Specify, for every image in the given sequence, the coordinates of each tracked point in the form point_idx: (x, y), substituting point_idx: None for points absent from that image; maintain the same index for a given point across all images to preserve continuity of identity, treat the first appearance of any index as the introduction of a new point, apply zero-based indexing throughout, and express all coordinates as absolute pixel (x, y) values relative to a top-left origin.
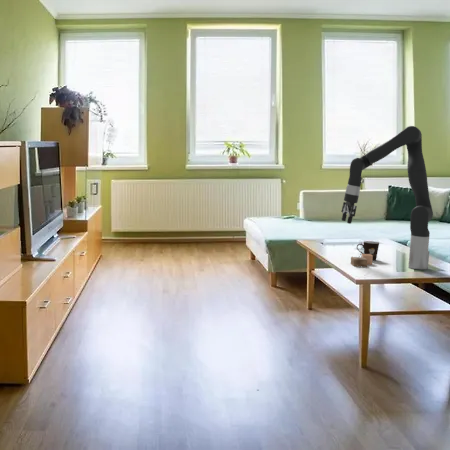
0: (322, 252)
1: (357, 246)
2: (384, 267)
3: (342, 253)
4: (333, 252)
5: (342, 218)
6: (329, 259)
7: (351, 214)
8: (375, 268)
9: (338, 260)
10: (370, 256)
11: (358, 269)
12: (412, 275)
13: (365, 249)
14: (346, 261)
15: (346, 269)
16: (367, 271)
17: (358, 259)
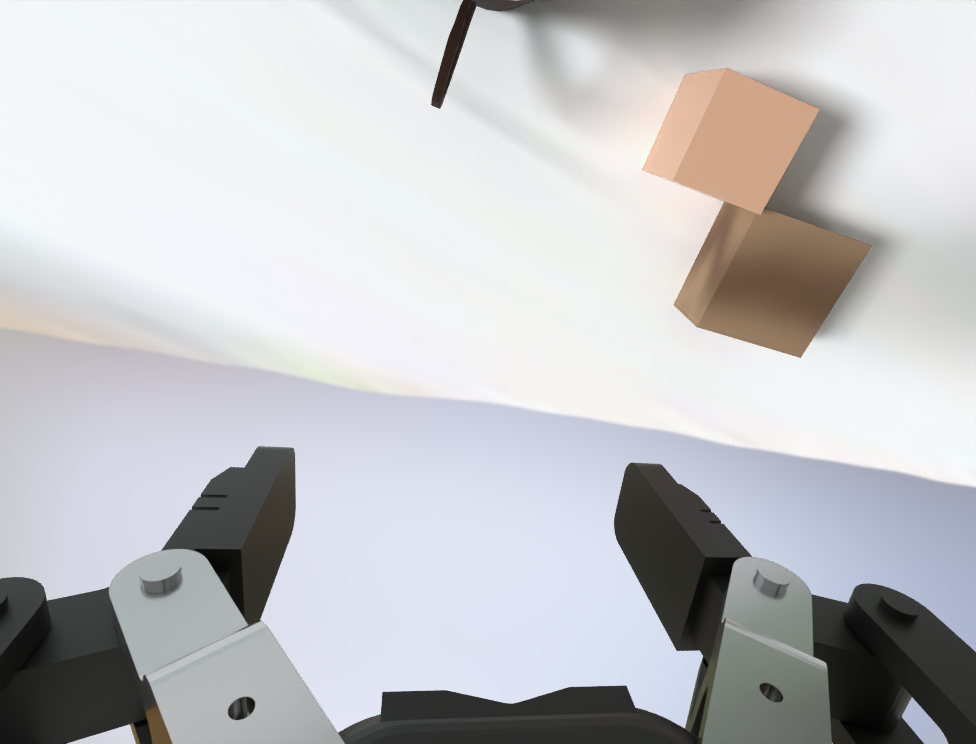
0: (72, 289)
1: (442, 97)
2: (926, 57)
3: (75, 74)
4: (29, 160)
5: (282, 553)
6: (463, 387)
7: (897, 722)
8: (919, 190)
9: (513, 335)
10: (798, 135)
11: (885, 358)
12: None
13: (520, 4)
14: (567, 287)
15: (847, 438)
16: (972, 330)
17: (823, 321)
